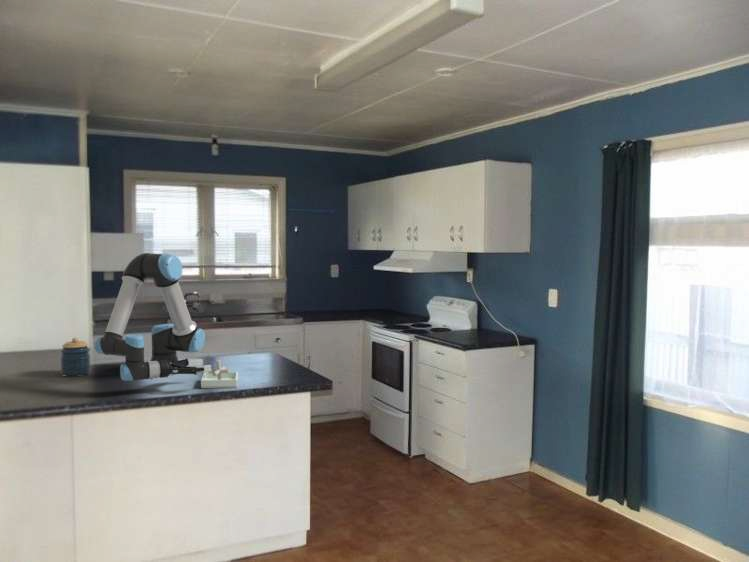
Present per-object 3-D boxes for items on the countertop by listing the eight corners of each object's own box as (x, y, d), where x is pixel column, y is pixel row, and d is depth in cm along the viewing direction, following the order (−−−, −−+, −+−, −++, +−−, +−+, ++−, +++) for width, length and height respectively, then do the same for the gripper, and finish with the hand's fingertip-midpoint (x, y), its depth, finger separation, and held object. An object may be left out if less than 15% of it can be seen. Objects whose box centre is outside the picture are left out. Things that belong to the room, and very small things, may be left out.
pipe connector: (225, 384, 289) (223, 363, 288) (205, 384, 291) (203, 363, 290) (234, 378, 299) (232, 357, 298) (214, 379, 301) (212, 358, 300)
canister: (54, 375, 303) (53, 338, 302) (75, 370, 315) (75, 334, 314) (75, 378, 299) (75, 341, 297) (96, 372, 311) (96, 336, 309)
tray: (200, 388, 286) (200, 380, 286) (204, 380, 301) (204, 372, 301) (236, 388, 289) (236, 379, 288) (238, 379, 304) (238, 371, 304)
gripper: (152, 371, 291) (199, 367, 302) (164, 384, 270) (214, 379, 281) (152, 355, 291) (199, 351, 301) (164, 366, 269) (214, 362, 280)
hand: (206, 365), depth 291 cm, fingers open, 13 cm apart
